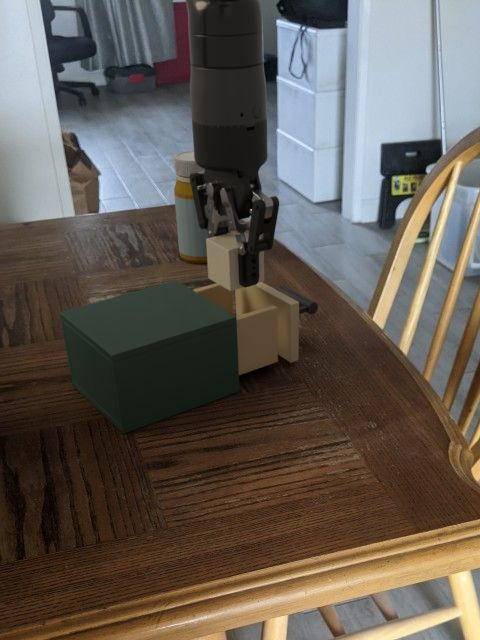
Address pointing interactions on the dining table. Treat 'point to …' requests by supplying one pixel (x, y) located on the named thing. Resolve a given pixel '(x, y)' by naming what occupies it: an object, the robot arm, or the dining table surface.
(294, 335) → the drawer
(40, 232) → the dining table surface
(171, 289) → the cabinet
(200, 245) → the bottle
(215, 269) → the block
